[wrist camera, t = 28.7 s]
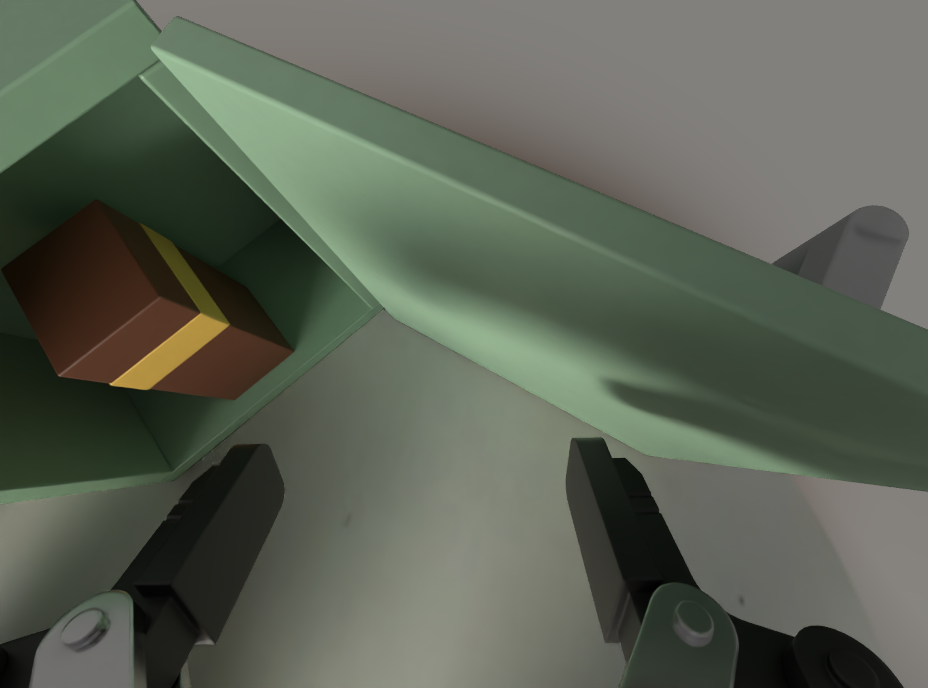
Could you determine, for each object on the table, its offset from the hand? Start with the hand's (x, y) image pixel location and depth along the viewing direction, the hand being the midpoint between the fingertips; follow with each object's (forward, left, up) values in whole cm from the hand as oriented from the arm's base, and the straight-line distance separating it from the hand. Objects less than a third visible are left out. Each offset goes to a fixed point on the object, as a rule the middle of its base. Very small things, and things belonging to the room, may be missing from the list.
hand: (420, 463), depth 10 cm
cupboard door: (-1, -7, -9) cm, 12 cm away
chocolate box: (+13, 0, -9) cm, 16 cm away
